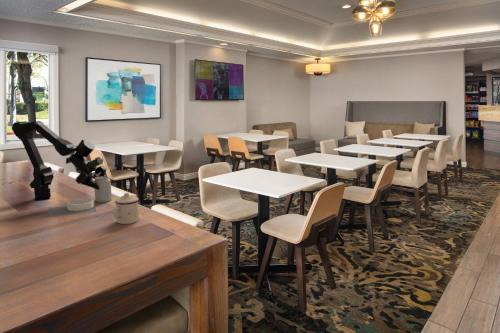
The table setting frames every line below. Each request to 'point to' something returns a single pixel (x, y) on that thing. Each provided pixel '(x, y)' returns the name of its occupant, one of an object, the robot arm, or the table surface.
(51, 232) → the table surface
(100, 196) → the can
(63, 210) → the placemat
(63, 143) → the robot arm
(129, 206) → the teacup with lid
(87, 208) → the bowl
